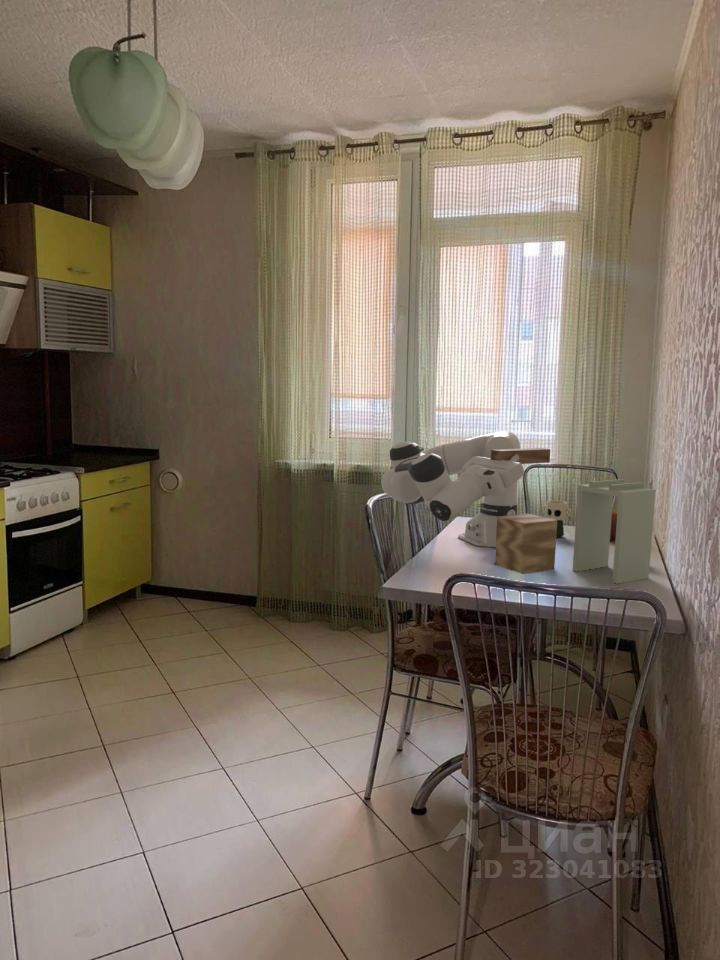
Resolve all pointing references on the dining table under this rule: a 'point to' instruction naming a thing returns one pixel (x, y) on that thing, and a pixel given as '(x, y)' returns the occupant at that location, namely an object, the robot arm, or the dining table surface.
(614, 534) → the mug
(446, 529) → the dining table surface
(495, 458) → the walnut bar
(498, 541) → the oak step
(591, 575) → the dining table surface
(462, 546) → the dining table surface
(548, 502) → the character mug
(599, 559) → the bridge
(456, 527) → the dining table surface
